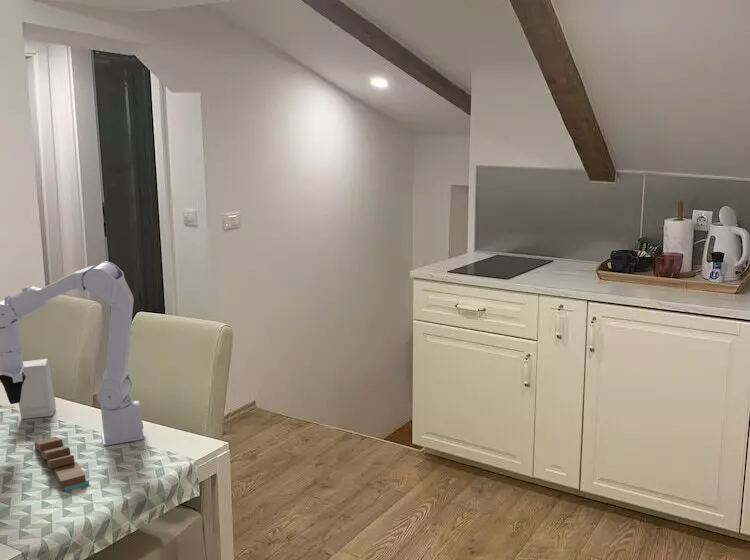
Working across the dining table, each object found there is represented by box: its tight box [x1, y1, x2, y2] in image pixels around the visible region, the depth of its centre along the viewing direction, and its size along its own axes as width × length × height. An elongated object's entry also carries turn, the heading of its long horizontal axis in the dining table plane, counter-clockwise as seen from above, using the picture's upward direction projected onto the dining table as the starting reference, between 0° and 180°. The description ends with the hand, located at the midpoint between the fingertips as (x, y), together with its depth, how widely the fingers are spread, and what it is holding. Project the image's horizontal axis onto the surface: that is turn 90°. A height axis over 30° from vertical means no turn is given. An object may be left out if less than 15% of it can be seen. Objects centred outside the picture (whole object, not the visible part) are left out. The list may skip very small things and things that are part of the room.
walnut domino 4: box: [53, 461, 86, 489], centre depth 169 cm, size 2×5×8 cm
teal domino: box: [54, 475, 90, 492], centre depth 169 cm, size 2×5×8 cm
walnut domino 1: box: [34, 436, 64, 452], centre depth 185 cm, size 2×5×8 cm
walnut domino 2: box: [39, 445, 71, 461], centre depth 180 cm, size 2×5×8 cm
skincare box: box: [18, 358, 57, 420], centre depth 207 cm, size 8×6×15 cm
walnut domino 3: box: [46, 454, 76, 469], centre depth 174 cm, size 2×5×8 cm
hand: (14, 402), depth 188 cm, fingers closed
